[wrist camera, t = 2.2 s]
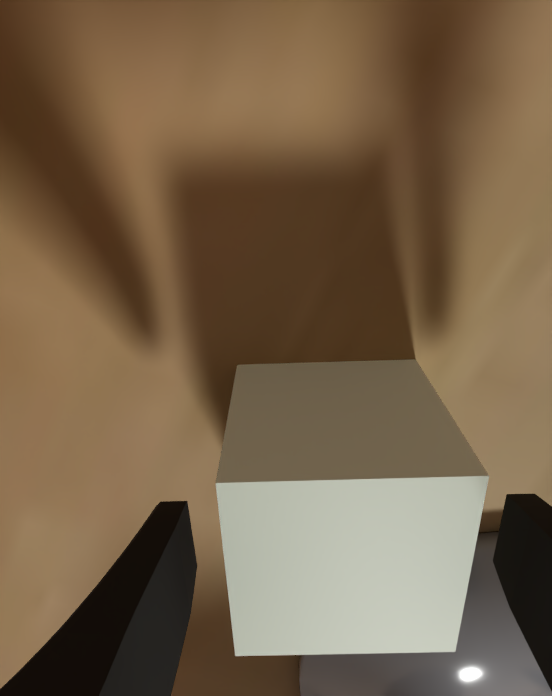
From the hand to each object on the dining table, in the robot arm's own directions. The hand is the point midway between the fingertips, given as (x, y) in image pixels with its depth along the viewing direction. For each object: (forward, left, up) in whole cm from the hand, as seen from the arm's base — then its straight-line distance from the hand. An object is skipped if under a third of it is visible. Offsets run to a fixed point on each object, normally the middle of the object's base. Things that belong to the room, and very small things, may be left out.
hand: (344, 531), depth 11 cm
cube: (0, 0, -4) cm, 4 cm away
